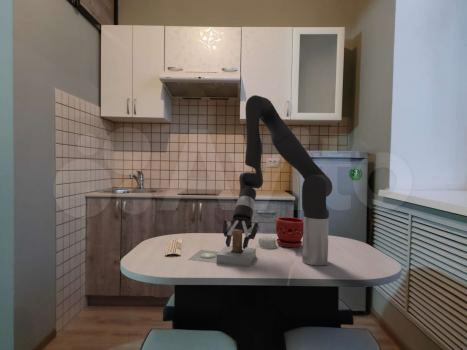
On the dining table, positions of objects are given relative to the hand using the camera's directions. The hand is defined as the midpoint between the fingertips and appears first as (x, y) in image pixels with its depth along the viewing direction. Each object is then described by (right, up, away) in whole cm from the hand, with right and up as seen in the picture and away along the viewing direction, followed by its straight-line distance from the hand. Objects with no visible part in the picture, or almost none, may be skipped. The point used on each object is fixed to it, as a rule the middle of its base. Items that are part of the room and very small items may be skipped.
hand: (236, 246), depth 108 cm
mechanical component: (+14, -6, +22) cm, 27 cm away
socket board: (-5, -6, +3) cm, 9 cm away
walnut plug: (0, -5, +2) cm, 6 cm away
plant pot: (+25, -6, +27) cm, 38 cm away
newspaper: (-26, -6, +19) cm, 32 cm away
